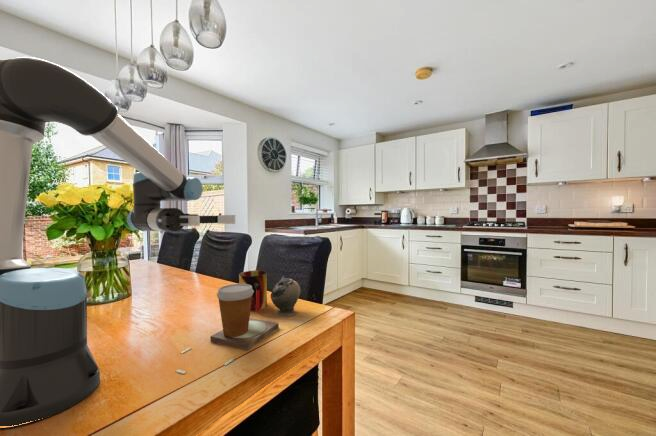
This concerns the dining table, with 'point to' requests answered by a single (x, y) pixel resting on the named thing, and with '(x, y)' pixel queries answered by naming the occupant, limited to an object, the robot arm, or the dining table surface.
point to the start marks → (189, 349)
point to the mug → (256, 287)
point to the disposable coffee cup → (235, 308)
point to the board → (247, 334)
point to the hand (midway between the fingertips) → (218, 220)
